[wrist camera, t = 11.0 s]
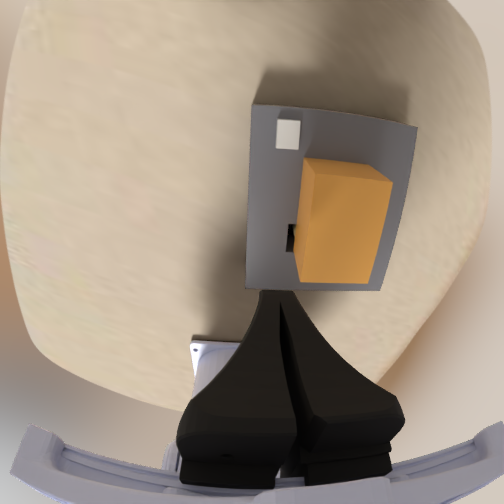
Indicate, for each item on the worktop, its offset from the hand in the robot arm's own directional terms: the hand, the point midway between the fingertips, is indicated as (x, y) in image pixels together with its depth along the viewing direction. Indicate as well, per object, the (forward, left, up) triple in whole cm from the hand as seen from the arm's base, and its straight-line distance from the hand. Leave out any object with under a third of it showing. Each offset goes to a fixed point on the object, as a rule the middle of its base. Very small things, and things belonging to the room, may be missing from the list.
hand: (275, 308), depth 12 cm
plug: (+2, -4, -9) cm, 10 cm away
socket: (+2, -4, -10) cm, 10 cm away
